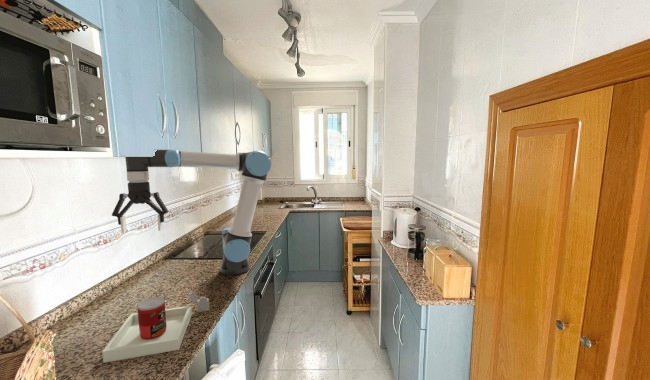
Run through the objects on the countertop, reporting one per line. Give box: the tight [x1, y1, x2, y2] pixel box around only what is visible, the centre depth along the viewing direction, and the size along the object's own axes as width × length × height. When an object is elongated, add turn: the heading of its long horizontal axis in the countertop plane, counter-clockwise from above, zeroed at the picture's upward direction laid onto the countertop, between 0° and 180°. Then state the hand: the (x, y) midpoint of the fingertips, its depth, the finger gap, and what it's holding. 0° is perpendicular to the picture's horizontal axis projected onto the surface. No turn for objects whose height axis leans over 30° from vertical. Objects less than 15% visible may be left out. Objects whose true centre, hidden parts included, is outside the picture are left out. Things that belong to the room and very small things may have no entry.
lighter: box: [187, 291, 210, 313], centre depth 105 cm, size 7×2×8 cm, turn 106°
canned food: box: [136, 296, 167, 340], centre depth 90 cm, size 8×8×11 cm
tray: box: [101, 305, 193, 363], centre depth 91 cm, size 20×20×4 cm
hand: (142, 231), depth 115 cm, fingers open, 13 cm apart
